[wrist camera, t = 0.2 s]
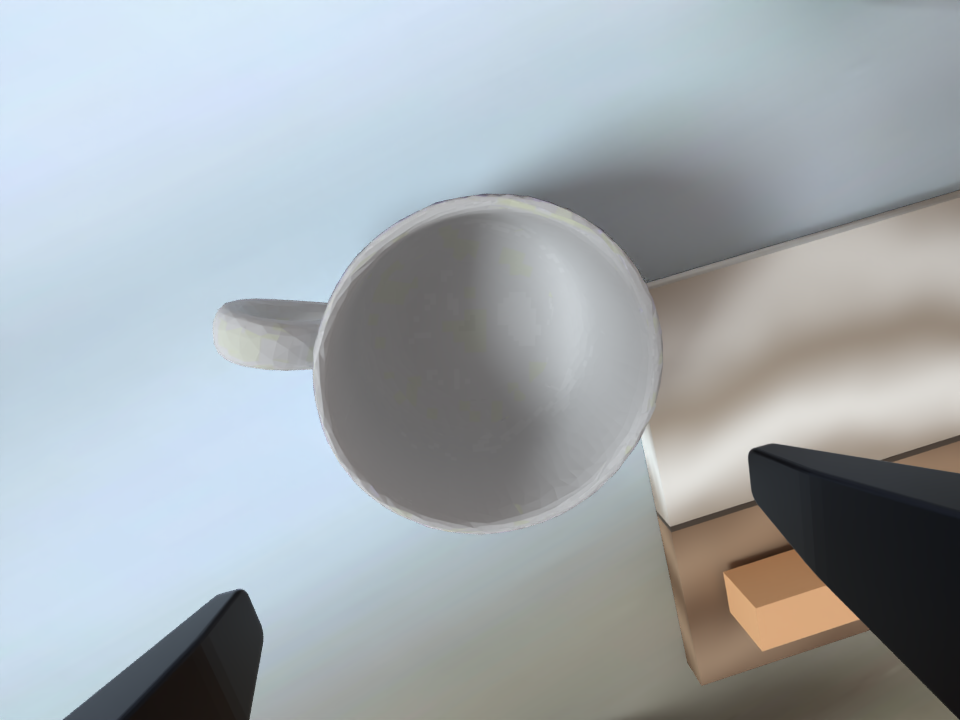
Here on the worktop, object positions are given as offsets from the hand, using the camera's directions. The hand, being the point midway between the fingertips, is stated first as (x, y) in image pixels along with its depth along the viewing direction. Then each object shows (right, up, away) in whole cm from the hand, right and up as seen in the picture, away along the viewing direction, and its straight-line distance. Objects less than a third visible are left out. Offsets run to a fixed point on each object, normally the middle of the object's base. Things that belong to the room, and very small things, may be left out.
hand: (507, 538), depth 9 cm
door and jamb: (+20, -1, +17) cm, 26 cm away
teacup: (-2, +5, +14) cm, 15 cm away
